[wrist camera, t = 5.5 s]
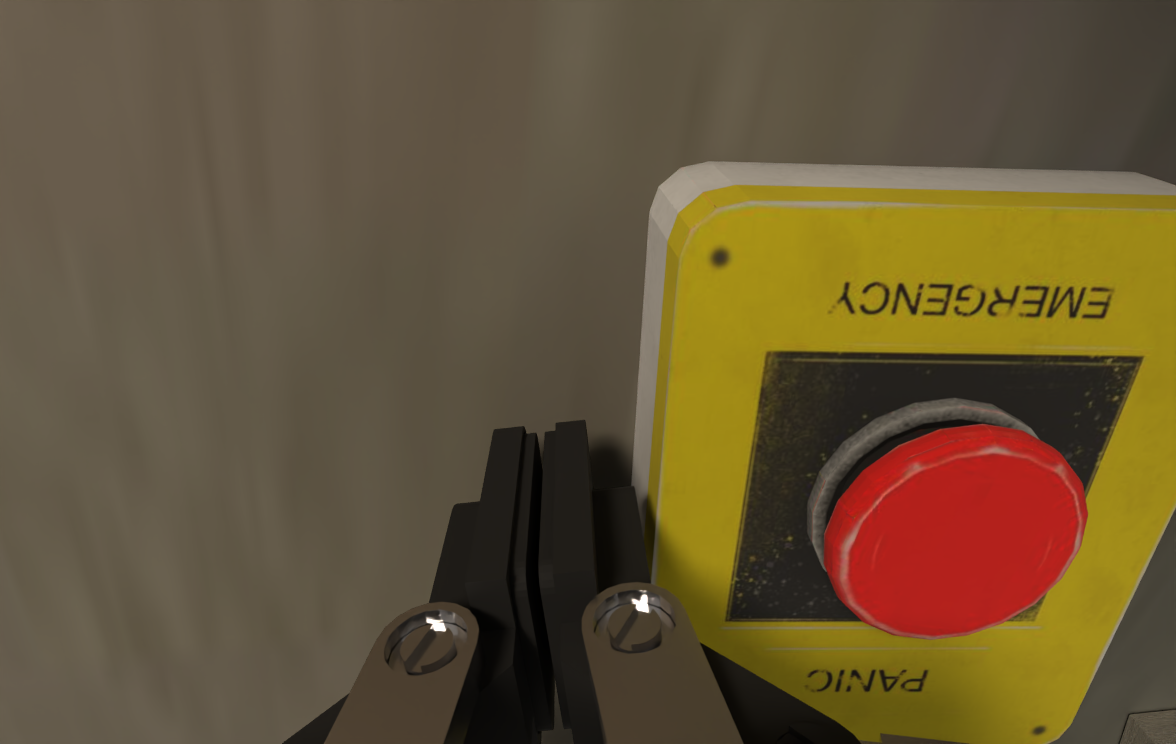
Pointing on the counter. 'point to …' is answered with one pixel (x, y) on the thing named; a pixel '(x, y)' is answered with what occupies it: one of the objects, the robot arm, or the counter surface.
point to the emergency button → (909, 431)
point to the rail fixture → (1150, 728)
